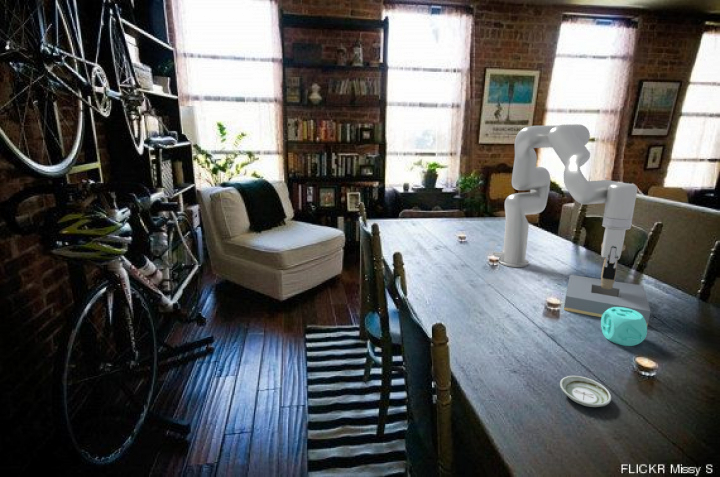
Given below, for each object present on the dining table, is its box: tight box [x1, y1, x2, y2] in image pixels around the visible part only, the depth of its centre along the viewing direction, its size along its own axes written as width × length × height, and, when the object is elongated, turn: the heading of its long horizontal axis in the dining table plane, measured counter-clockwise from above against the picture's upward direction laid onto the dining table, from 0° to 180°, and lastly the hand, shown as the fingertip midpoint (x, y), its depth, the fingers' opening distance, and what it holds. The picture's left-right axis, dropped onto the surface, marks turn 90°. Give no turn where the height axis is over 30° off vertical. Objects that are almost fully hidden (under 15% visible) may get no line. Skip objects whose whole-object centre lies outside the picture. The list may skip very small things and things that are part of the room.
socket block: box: [563, 274, 651, 327], centre depth 124 cm, size 22×22×5 cm
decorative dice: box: [600, 307, 648, 347], centre depth 103 cm, size 8×8×8 cm
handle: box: [600, 242, 626, 289], centre depth 121 cm, size 5×6×15 cm
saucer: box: [559, 375, 612, 408], centre depth 81 cm, size 10×10×2 cm
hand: (608, 276), depth 122 cm, fingers closed on handle, 3 cm apart
